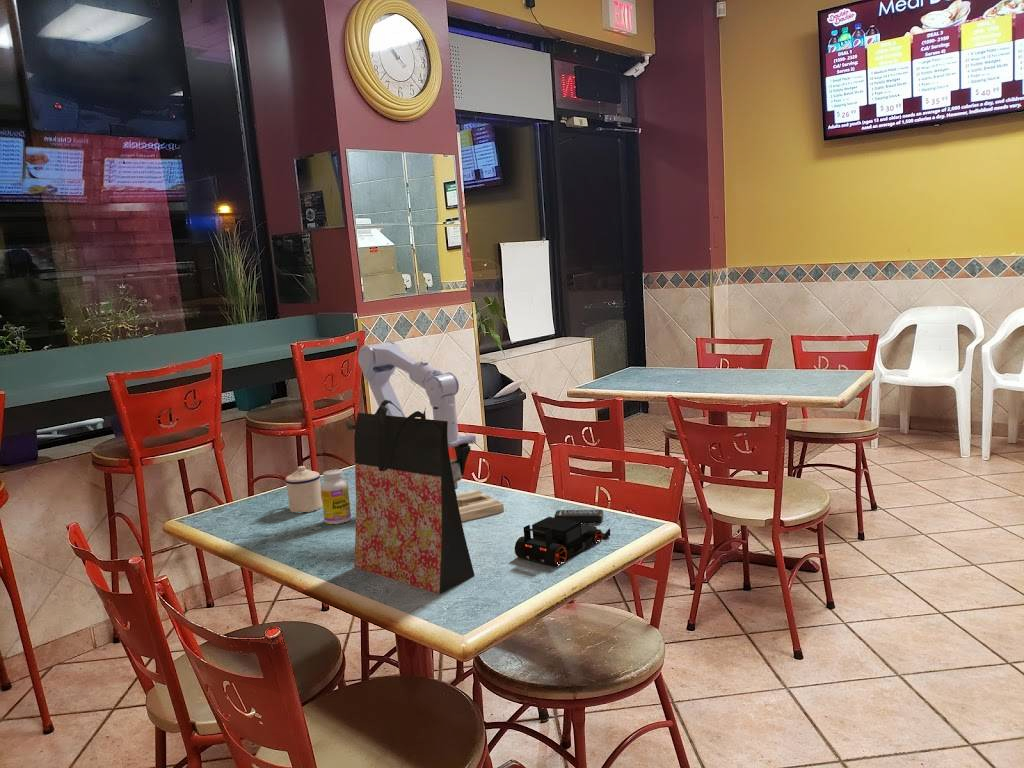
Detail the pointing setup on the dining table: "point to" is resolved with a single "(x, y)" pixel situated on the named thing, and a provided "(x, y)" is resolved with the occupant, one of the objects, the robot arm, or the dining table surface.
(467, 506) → the keyhole plate
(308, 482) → the teacup with lid
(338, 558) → the dining table surface
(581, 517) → the multiport hub
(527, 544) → the toy truck
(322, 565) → the dining table surface
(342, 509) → the supplement bottle
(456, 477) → the keyhole peg
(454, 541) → the gift bag
